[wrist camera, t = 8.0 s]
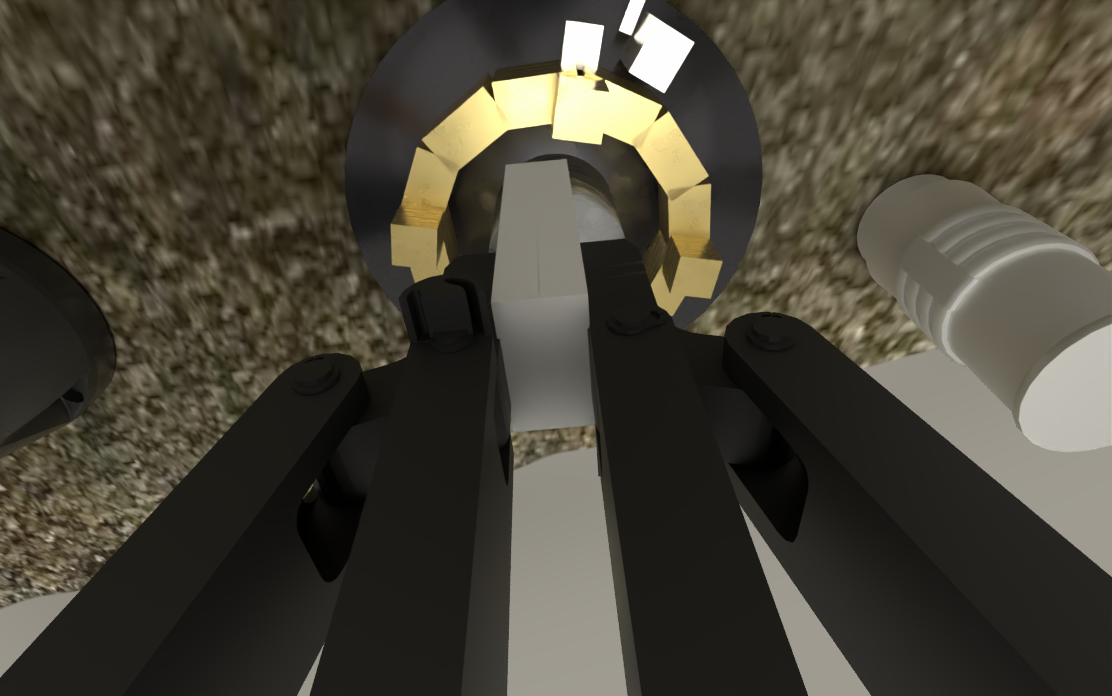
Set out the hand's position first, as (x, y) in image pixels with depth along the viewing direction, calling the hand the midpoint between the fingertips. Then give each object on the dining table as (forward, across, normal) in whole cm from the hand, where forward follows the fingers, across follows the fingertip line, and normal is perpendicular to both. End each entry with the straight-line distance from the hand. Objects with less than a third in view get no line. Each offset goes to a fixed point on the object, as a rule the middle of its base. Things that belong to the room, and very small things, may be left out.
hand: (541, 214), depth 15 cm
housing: (+17, 0, -7) cm, 19 cm away
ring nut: (+16, 0, -7) cm, 17 cm away
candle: (+17, +21, -10) cm, 29 cm away
